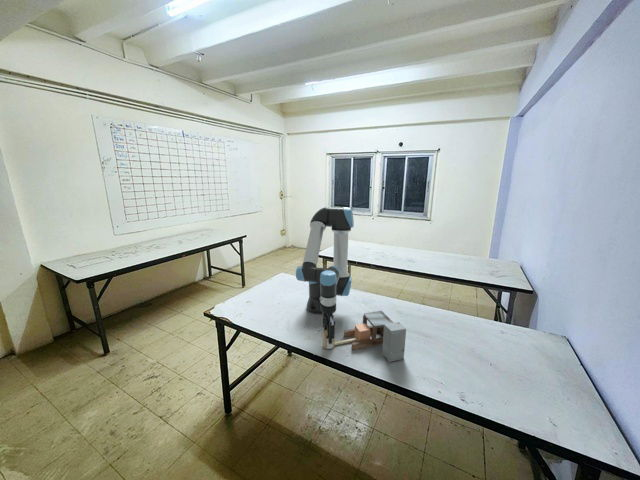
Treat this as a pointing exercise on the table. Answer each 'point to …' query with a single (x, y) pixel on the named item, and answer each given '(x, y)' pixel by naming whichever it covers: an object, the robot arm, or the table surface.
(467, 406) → the table surface
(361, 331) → the tether block
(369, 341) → the shelf lane
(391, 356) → the skincare box
